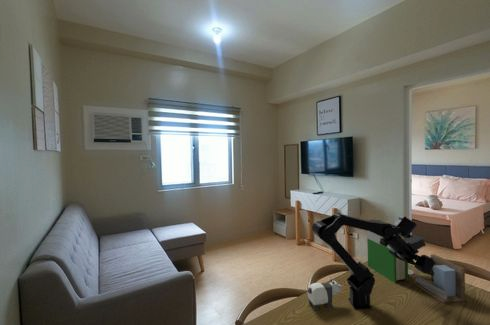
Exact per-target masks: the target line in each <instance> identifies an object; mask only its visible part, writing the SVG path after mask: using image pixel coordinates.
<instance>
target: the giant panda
mask: <svg viewBox="0 0 490 325" xmlns="http://www.w3.org/2000/svg"><path fill="white" fill-rule="evenodd" d="M342 288H343V286H342V284H339V283H338V282H337V281H335V280H333V279H332V278H331V279H330V282H314V283H311V284H310V285H309V286H308V287H307V299H308V303H309V305H310V306H312V310H313V311H319V310H320V307H319V305H323V304H325V305H326V308H328V309H331V308H332V309H333V308H334V306H333V296H334V295H336V294H338V293H339V292H340V291H341V289H342Z"/></svg>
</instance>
